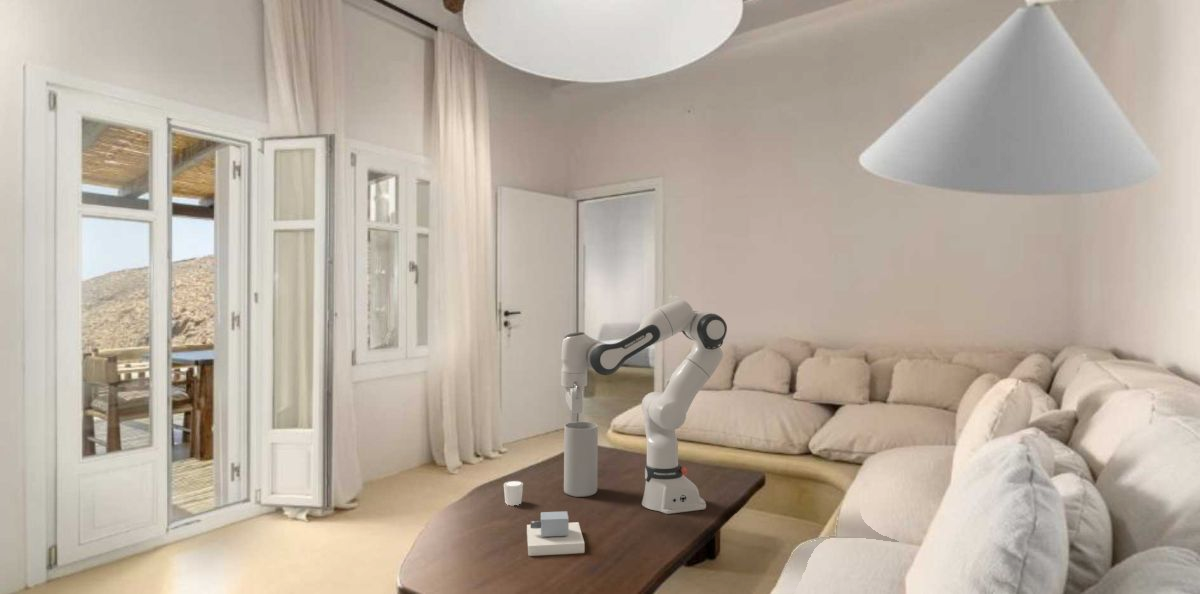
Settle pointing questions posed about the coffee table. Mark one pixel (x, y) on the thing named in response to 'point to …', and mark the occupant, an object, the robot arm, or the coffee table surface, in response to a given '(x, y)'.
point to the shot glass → (513, 492)
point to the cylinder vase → (580, 458)
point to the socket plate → (555, 542)
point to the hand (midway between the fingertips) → (573, 421)
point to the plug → (552, 524)
